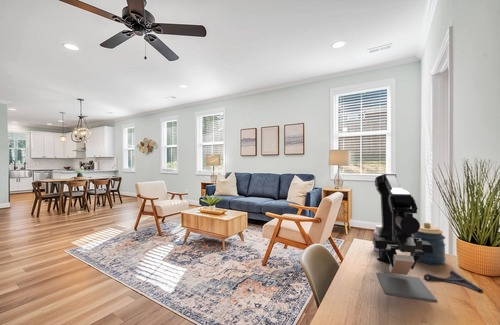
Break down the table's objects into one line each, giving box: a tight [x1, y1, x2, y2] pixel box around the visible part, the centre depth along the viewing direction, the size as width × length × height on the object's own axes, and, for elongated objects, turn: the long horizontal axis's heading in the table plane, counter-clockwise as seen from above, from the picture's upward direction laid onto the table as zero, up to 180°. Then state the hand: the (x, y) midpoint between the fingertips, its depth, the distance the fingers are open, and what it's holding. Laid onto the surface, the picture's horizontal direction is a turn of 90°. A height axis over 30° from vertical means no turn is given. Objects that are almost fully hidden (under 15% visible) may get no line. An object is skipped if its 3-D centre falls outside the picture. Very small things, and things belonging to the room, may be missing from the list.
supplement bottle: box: [373, 224, 382, 252], centre depth 122 cm, size 7×7×13 cm
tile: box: [388, 254, 414, 276], centre depth 88 cm, size 2×6×12 cm
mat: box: [375, 272, 438, 303], centre depth 86 cm, size 16×15×1 cm
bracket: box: [423, 270, 484, 293], centre depth 89 cm, size 14×15×3 cm
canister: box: [412, 221, 447, 266], centre depth 109 cm, size 13×13×18 cm
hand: (402, 267), depth 87 cm, fingers closed on tile, 6 cm apart
